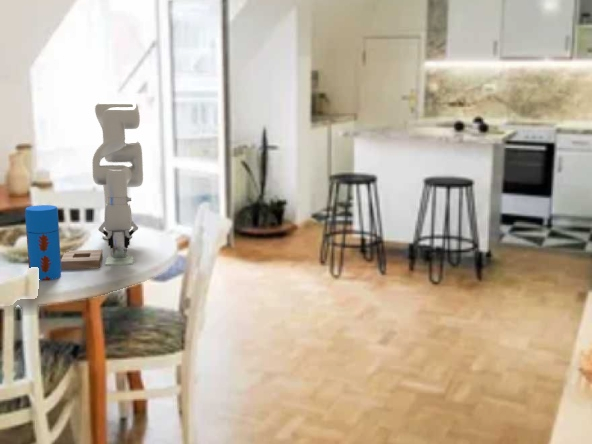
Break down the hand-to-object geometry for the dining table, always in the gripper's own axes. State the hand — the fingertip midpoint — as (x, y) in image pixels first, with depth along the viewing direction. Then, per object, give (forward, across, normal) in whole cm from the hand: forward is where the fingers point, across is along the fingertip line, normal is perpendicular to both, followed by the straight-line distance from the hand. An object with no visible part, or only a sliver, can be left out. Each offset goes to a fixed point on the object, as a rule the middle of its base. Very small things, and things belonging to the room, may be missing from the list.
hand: (119, 246), depth 281 cm
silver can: (+4, 0, 0) cm, 4 cm away
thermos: (+6, +25, +17) cm, 31 cm away
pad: (+6, 0, 0) cm, 6 cm away
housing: (+6, +14, 0) cm, 15 cm away
